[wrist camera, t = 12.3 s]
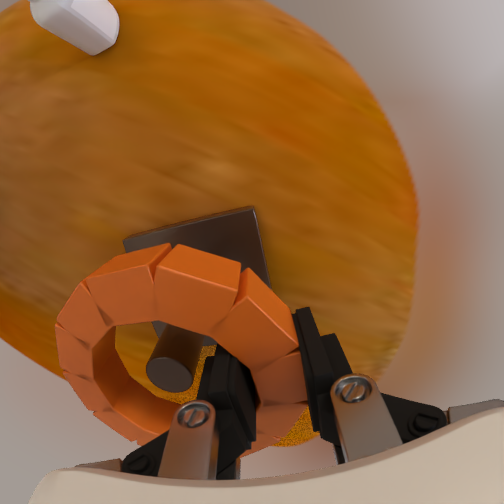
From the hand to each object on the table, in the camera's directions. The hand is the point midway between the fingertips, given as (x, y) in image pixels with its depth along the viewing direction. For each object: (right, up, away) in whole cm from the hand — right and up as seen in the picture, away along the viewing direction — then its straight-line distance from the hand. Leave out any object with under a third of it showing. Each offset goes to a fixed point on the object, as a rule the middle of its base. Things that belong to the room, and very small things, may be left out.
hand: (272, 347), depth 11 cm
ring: (-4, -1, 0) cm, 4 cm away
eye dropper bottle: (-13, +22, +3) cm, 25 cm away
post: (-4, +2, +9) cm, 10 cm away
